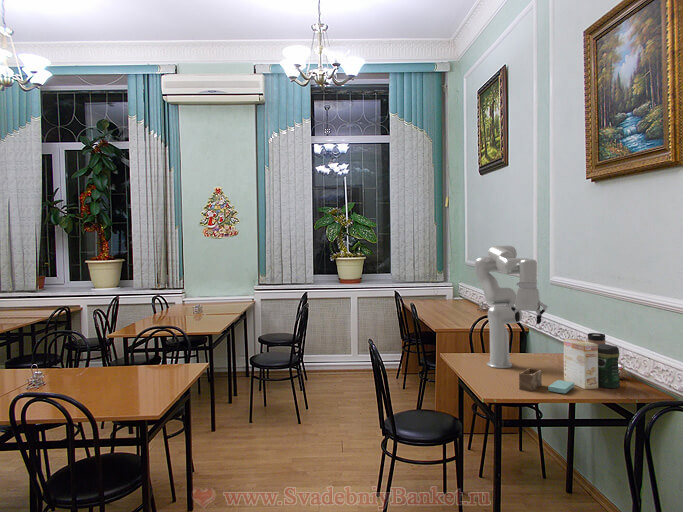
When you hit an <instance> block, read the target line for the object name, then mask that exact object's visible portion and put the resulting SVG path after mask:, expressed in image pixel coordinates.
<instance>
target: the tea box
mask: <svg viewBox="0 0 683 512" xmlns="http://www.w3.org/2000/svg"><path fill="white" fill-rule="evenodd" d="M542 374H543V373H542V369H537V368H531V367H528V368H527V369H524V370H523V371H521V372H519V374H518V377H519V379H518V380H519V382H518V383H519V384H518V385H519V387H518V388H519V390H521V391H527V392H534V391H535V390H537V389H538V388H541V386H542V385H543V382H542V381H543V378H542V377H543V375H542Z"/></svg>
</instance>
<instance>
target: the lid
mask: <svg viewBox="0 0 683 512" xmlns="http://www.w3.org/2000/svg"><path fill="white" fill-rule="evenodd" d="M573 388H575V385H574V382H568V381H564V380H561V379H557V380H555V381H554V382H553V383H551V384H550V385H549V386H547V389H548V390H547V391H549V392H553V393H558V394H568V392H569V391H570V390H572V389H573Z"/></svg>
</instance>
